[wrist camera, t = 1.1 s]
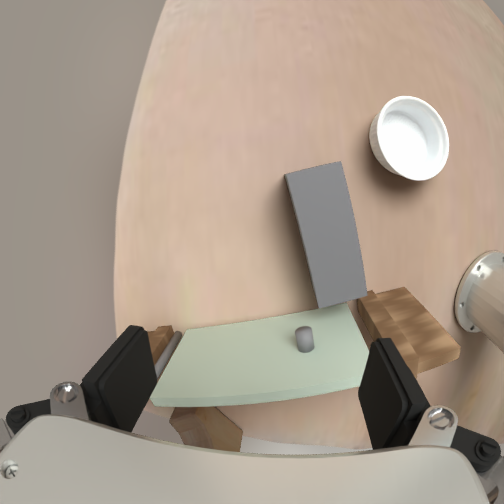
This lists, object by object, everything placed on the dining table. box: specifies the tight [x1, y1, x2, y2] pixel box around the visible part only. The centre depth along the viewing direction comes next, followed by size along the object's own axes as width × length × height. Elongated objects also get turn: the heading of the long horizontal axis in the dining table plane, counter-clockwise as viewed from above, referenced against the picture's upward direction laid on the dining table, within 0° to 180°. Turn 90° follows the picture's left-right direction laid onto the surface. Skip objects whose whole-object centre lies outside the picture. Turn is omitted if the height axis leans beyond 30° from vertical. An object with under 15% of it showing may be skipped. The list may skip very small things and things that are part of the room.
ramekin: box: [369, 96, 449, 181], centre depth 25 cm, size 9×9×4 cm
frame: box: [147, 287, 461, 379], centre depth 27 cm, size 35×2×14 cm, turn 103°
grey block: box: [284, 161, 367, 309], centre depth 28 cm, size 5×13×6 cm, turn 16°
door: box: [150, 303, 369, 407], centre depth 27 cm, size 22×3×13 cm, turn 103°
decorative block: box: [170, 406, 243, 452], centre depth 30 cm, size 11×6×20 cm, turn 35°
